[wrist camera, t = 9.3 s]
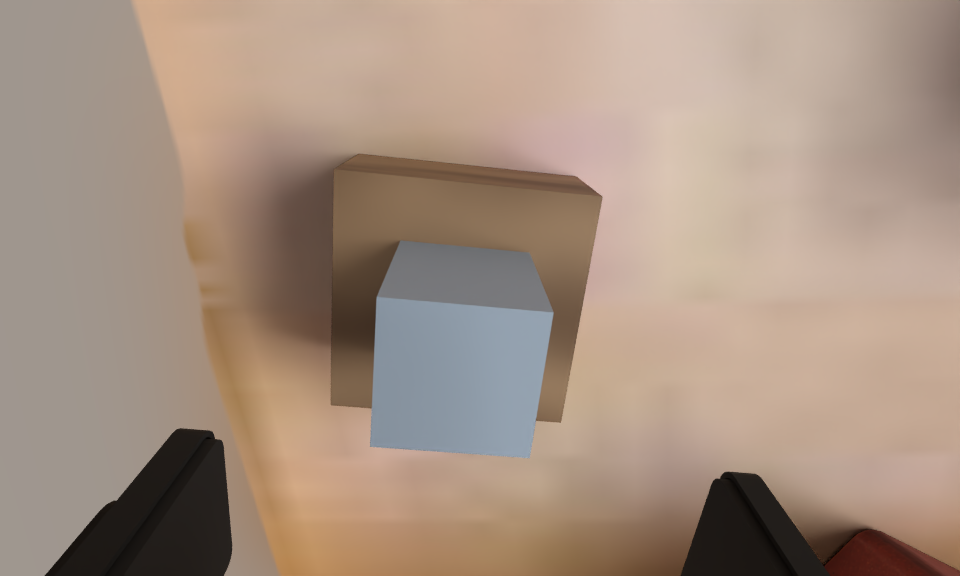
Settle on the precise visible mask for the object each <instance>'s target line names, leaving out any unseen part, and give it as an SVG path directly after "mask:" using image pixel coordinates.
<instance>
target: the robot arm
mask: <svg viewBox="0 0 960 576" xmlns="http://www.w3.org/2000/svg"><path fill="white" fill-rule="evenodd" d="M231 554H232V538H231V527H230V515H229V504H228V492H227V480H226V470H225V459H224V446H223V442H222V441H221V440H217V439H215V437H214V434H213V432H211V431H206V430H194V429H181V428H180V429H177V430H175V431H174V432H173V433H172V434H171V436H170V437H169V438H168V439H167V441H166V442H165V443H164V444H163V446H162V447H161V448H160V449H159V450H158V451H157V453H156V454H155V455H154V456H153V457H152V459H151V460H150V461H149V462H148V463H147V465H146V466H145V467H144V468H143V470H142V471H141V472H140V473H139V474H138V476H137V477H136V478H135V479H134V480H133V482H132V483H131V484H130V485H129V487H128V488H127V489H126V490H125V491H124V493H123V494H122V495H121V496H120V497H119V499H118V500H117V501H112V502H110V503H108V504H107V505H105V507H103V508H102V509H101V510H100V511H99V513H98V514H97V515H96V516H95V517H94V518H93V519H92V521H91V522H90V523H89V524H88V525H87V526H86V528H85V529H84V530H83V531H82V533H81V534H80V535H79V536H78V537H77V538H76V539H75V541H74V542H73V543H72V544H71V545H70V547H69V548H68V549H67V550H66V551H65V552H64V554H63V555H62V556H61V557H60V559H59V560H58V561H57V562H56V563H55V564H54V565H53V567H52V568H51V569H50V570H49V572H48V573H47V574H46V575H45V576H224V574H225V572H226V570H227V568H228V565H229V562H230V559H231ZM681 576H830V574H829V573H828V572H827V570H826V569H825V567H824V566H823V565H822V563H821V562H820V560H819V559H818V558H817V556H816V555H815V553H814V552H813V550H812V549H811V548H810V546H809V545H808V543H807V542H806V541H805V539H804V538H803V536H802V535H801V533H800V532H799V531H798V529H797V528H796V526H795V525H794V524H793V522H792V521H791V519H790V518H789V517H788V515H787V514H786V512H785V511H784V509H783V508H782V507H781V505H780V504H779V502H778V501H777V500H776V498H775V497H774V495H773V494H772V492H771V491H770V490H769V488H768V487H767V485H766V484H765V483H764V481H763V480H762V479H761V478H760V477H759V476H758V475H756V474H751V473H738V472H724V473H723V474H722V476H721V478H720V479H715V480H714V481H713V483H712V485H711V488H710V491H709V494H708V496H707V499H706V502H705V505H704V508H703V511H702V514H701V517H700V520H699V523H698V526H697V529H696V532H695V535H694V538H693V541H692V544H691V547H690V550H689V553H688V556H687V559H686V562H685V565H684V567H683V570H682V573H681Z"/></svg>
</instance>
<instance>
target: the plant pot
mask: <svg viewBox="0 0 960 576" xmlns="http://www.w3.org/2000/svg"><path fill="white" fill-rule="evenodd" d="M824 567H825V569H826V570H827V572H828V573H829V574H830V576H960V571H959V570H957V569H955V568H953V567H951V566H949V565H947V564H945V563H943V562H941V561H939V560H937V559H935V558H933V557H931V556H929V555H927V554H925V553H923V552H921V551H919V550H917V549H915V548H913V547H911V546H909V545H907V544H905V543H903V542H901V541H899V540H897V539H895V538H893V537H891V536H889V535H887V534H885V533H883V532H881V531H877V530H866V531H863V532H861V533H858V534H857V535H856V536H855V537H853V538H852V539H851V540H850V541H849V542H848V543H847V544H846V545H845V546H844V547H843V548H842V549H841V550H840V551H839V552H838V553H837V554H836V555H835V556H834V557H833V558H832V559H831V560H830V561H829V562H828V563H827V564H826V565H825V566H824Z"/></svg>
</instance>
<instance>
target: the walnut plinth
mask: <svg viewBox="0 0 960 576" xmlns="http://www.w3.org/2000/svg"><path fill="white" fill-rule="evenodd" d="M601 202H602V196H601V195H600V194H598V193H597V192H596V191H594V190H593V189H592V188H591V187H589V186H588V185H587V184H585V183H584V182H583V181H581V180H580V179H579V178H578V177H575V176H565V175H556V174H546V173H537V172H527V171H517V170H508V169H498V168H489V167H479V166H470V165H460V164H450V163H441V162H431V161H422V160H412V159H403V158H393V157H383V156H374V155H364V154H358V155H356V156H355V157H353V158H351V159H350V160H348V161H346V162H345V163H343V164H341V165H340V166H338V167H337V168H335V169H334V186H333V262H332V338H331V405H335V406H348V407H361V408H372V393H373V370H374V347H375V324H376V301H377V295H378V293H379V290H380V288H381V286H382V283H383V281H384V278H385V276H386V274H387V271H388V269H389V267H390V264H391V262H392V260H393V257H394V255H395V252H396V250H397V248H398V245H399V243H400V241H412V242H422V243H433V244H443V245H454V246H464V247H475V248H485V249H496V250H507V251H517V252H528V253H530V255H531V257H532V260H533V262H534V265H535V267H536V270H537V272H538V275H539V277H540V280H541V282H542V285H543V287H544V290H545V292H546V295H547V297H548V300H549V302H550V305H551V307H552V310H553V312H554V314H553V320H552V326H551V332H550V338H549V344H548V350H547V356H546V362H545V368H544V374H543V380H542V386H541V392H540V398H539V404H538V410H537V416H536V421H547V422H560V423H561V419H562V413H563V408H564V403H565V397H566V392H567V386H568V381H569V376H570V370H571V365H572V359H573V354H574V349H575V343H576V338H577V332H578V327H579V321H580V316H581V311H582V305H583V300H584V294H585V289H586V284H587V278H588V273H589V267H590V262H591V256H592V251H593V246H594V240H595V235H596V229H597V224H598V219H599V213H600V208H601Z"/></svg>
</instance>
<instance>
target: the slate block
mask: <svg viewBox="0 0 960 576" xmlns="http://www.w3.org/2000/svg"><path fill="white" fill-rule="evenodd" d="M553 314H554V312H553V310H552V307H551V305H550V302H549V300H548V297H547V295H546V292H545V290H544V287H543V285H542V282H541V280H540V277H539V275H538V272H537V270H536V267H535V265H534V262H533V260H532V257H531V255H530V253H528V252H517V251H507V250H496V249H485V248H475V247H464V246H454V245H443V244H433V243H422V242H412V241H400V243H399V245H398V248H397V250H396V252H395V255H394V257H393V260H392V262H391V264H390V267H389V269H388V271H387V274H386V276H385V278H384V281H383V283H382V286H381V288H380V290H379V293H378V295H377V301H376V324H375V347H374V370H373V393H372V416H371V440H370V447H381V448H395V449H409V450H423V451H437V452H451V453H466V454H480V455H494V456H508V457H522V458H530V453H531V447H532V441H533V434H534V428H535V422H536V416H537V410H538V404H539V398H540V392H541V386H542V380H543V374H544V368H545V362H546V356H547V350H548V344H549V338H550V332H551V326H552V320H553Z"/></svg>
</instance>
